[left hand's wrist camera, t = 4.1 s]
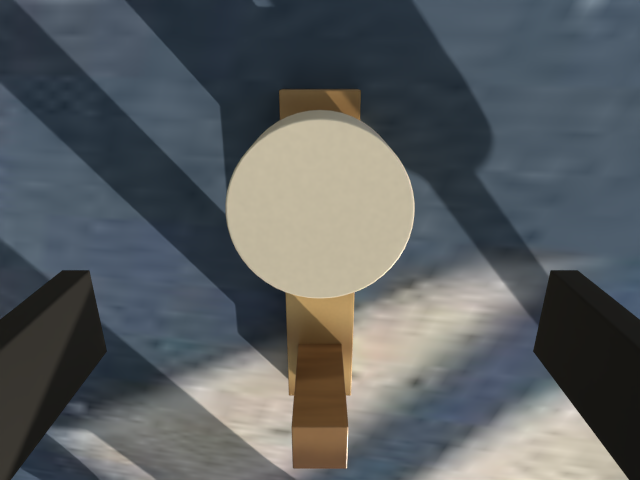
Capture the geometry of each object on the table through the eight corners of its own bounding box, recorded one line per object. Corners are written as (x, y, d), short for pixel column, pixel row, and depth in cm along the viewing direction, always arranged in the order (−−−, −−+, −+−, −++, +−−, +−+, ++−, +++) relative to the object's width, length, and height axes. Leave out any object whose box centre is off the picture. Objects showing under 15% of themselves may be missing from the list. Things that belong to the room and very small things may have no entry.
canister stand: (274, 88, 34) (252, 99, 23) (365, 88, 34) (387, 99, 23) (285, 381, 44) (273, 488, 33) (354, 381, 44) (366, 488, 33)
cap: (406, 109, 23) (422, 118, 19) (395, 266, 26) (407, 298, 22) (233, 109, 23) (217, 118, 19) (244, 266, 26) (232, 298, 22)
